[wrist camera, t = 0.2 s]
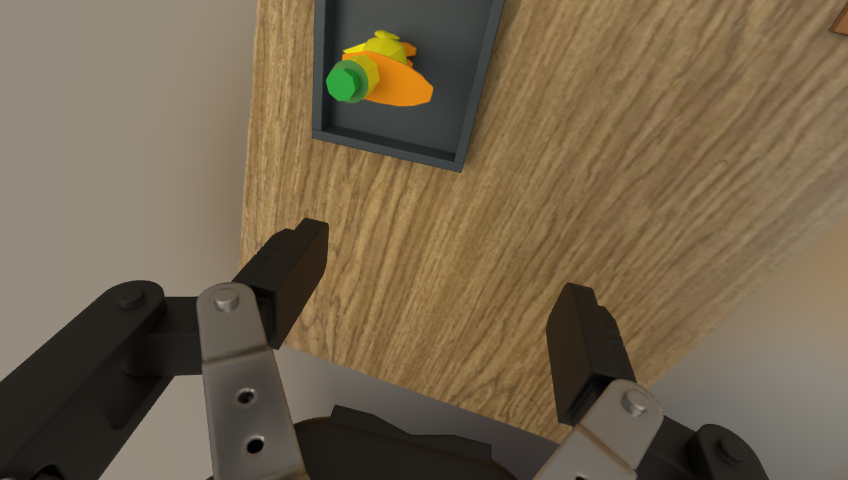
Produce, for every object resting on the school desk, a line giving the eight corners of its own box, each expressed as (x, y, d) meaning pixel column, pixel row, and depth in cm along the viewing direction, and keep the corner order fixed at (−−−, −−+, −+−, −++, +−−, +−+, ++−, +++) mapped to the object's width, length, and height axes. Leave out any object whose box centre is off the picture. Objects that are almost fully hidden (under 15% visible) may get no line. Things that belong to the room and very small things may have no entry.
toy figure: (453, 43, 29) (430, 75, 19) (440, 93, 31) (413, 144, 21) (365, 17, 29) (295, 34, 19) (357, 67, 31) (291, 107, 21)
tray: (329, -83, 26) (316, -88, 24) (515, -43, 26) (516, -45, 24) (322, 129, 35) (311, 138, 33) (463, 162, 34) (461, 173, 32)
